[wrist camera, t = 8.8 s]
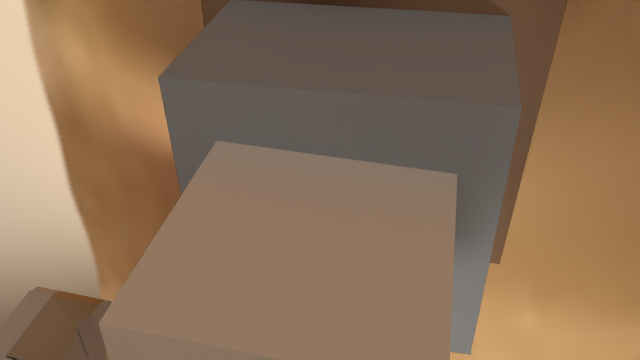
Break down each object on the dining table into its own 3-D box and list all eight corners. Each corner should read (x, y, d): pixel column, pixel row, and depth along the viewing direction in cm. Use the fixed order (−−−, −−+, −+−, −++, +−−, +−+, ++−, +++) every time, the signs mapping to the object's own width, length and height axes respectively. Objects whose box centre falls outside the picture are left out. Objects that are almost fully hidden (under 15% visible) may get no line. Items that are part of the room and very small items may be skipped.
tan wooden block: (550, -78, 17) (573, -23, 13) (495, 172, 23) (499, 264, 19) (254, -94, 19) (195, -49, 15) (267, 145, 24) (227, 224, 20)
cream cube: (457, 173, 12) (448, 391, 8) (424, 336, 15) (405, 553, 11) (216, 140, 13) (98, 323, 9) (231, 301, 16) (148, 492, 12)
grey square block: (510, 15, 14) (521, 107, 11) (471, 235, 18) (470, 354, 15) (230, -1, 15) (158, 77, 12) (253, 209, 20) (204, 313, 16)
